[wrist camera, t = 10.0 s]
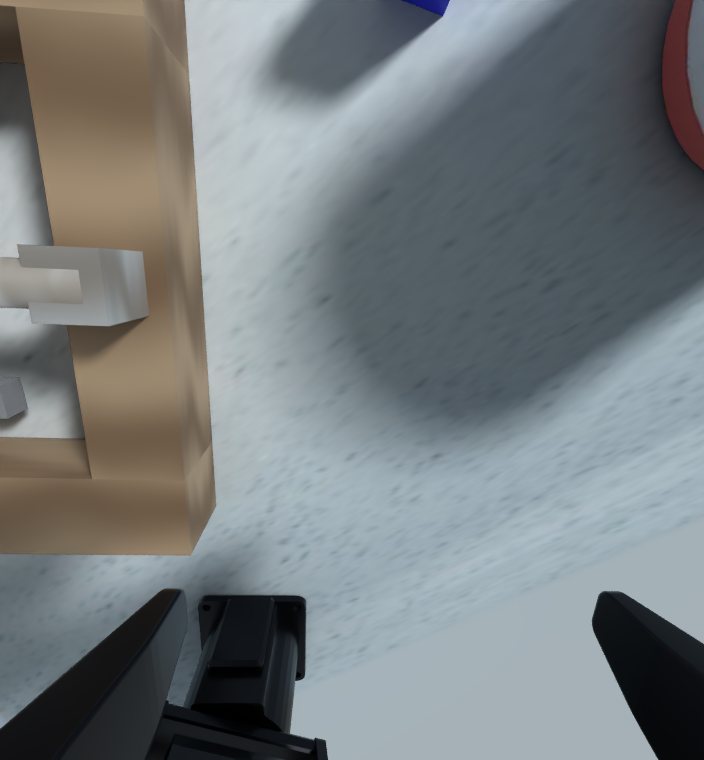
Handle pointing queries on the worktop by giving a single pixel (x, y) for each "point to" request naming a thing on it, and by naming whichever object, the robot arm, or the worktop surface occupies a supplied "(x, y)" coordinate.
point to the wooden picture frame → (112, 283)
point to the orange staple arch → (11, 397)
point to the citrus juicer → (685, 76)
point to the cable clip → (431, 5)
